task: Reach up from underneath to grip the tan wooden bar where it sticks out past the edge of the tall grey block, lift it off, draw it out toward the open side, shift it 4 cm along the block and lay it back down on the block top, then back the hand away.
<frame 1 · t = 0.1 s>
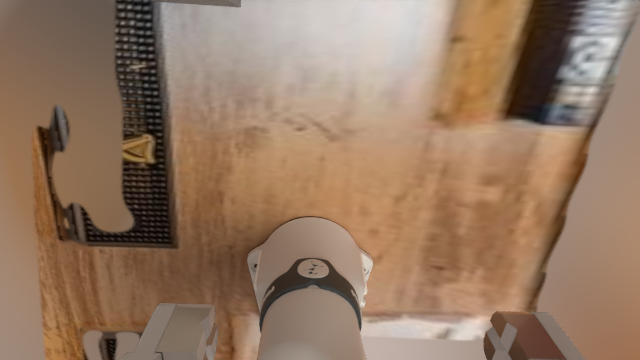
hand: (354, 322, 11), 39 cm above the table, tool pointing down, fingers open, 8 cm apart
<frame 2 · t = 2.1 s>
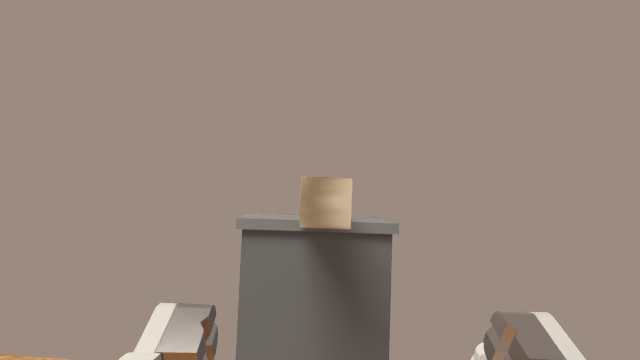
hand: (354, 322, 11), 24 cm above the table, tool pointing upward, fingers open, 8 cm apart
tan wooden bar: (317, 218, 36), point 26 cm above the table, touching tall grey block
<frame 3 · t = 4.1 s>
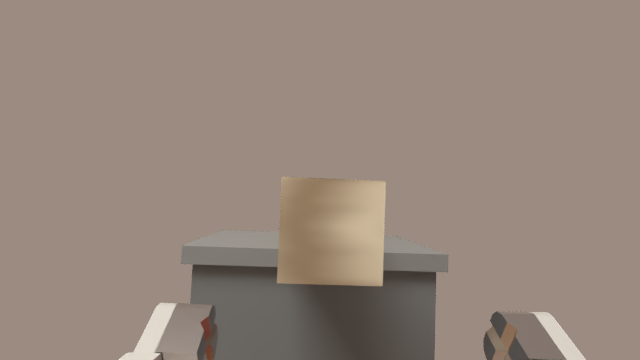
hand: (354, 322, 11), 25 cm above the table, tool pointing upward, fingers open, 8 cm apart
tan wooden bar: (315, 244, 23), point 26 cm above the table, touching tall grey block
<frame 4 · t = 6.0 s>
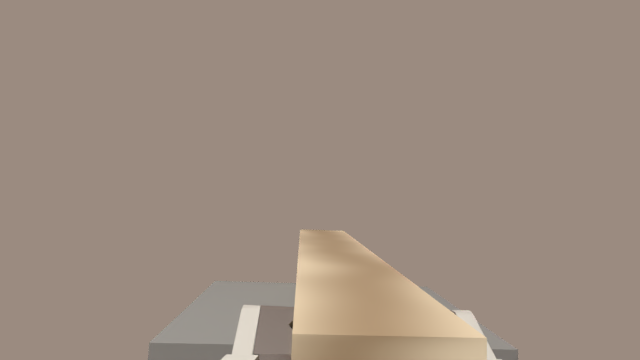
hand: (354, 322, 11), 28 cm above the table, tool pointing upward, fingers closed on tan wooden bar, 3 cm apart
tan wooden bar: (331, 321, 18), point 26 cm above the table, touching gripper, tall grey block
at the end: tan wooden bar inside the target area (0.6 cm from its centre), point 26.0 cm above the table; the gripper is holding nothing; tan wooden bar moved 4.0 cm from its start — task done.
